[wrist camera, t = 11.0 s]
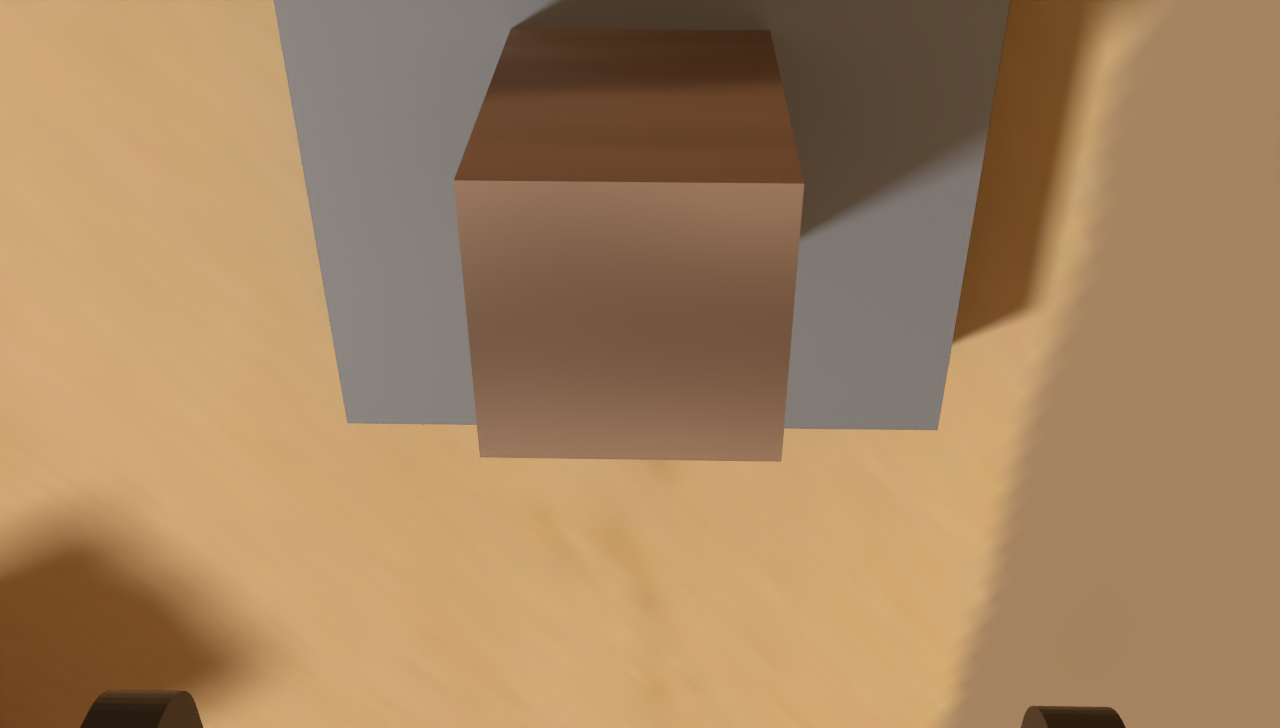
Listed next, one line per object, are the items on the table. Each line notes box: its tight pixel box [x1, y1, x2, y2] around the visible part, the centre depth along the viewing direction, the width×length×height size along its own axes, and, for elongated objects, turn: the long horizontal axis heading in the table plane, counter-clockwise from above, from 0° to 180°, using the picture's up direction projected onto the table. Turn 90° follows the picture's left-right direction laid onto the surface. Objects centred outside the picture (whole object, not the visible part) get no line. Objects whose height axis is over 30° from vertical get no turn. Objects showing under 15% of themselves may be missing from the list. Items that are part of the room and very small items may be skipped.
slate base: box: [274, 0, 1011, 430], centre depth 25 cm, size 14×14×3 cm
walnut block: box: [454, 29, 804, 462], centre depth 21 cm, size 5×5×7 cm
